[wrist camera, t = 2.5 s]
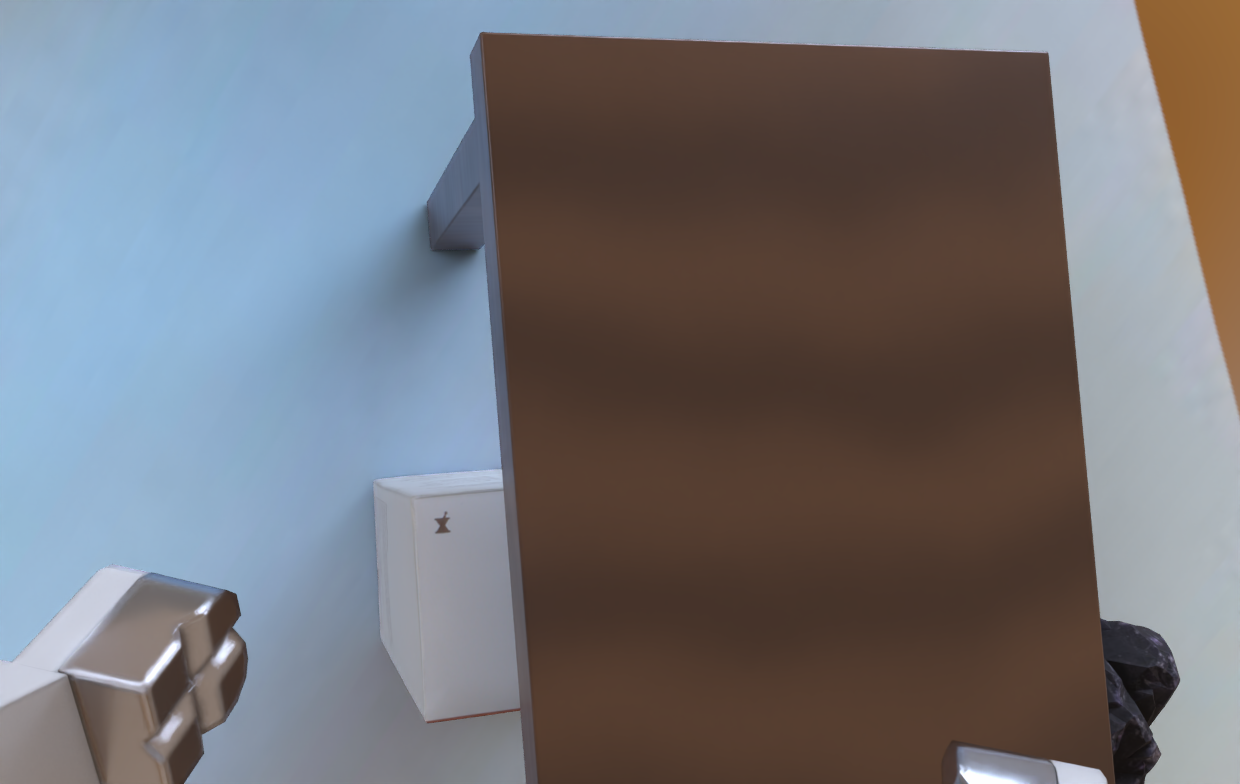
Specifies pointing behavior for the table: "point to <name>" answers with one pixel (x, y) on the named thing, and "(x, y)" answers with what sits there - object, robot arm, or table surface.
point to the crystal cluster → (1135, 694)
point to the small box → (447, 592)
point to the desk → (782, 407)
